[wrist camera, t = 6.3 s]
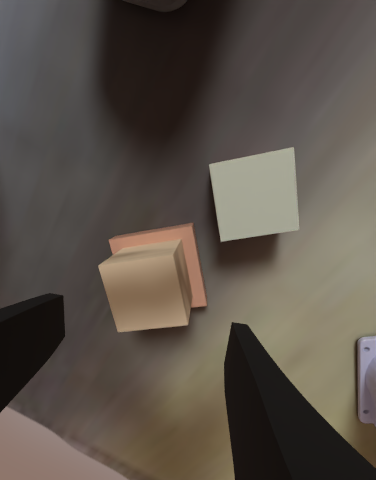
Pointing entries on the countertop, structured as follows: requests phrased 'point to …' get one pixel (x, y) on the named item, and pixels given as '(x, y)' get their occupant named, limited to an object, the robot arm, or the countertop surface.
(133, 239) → the plinth
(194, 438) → the countertop surface
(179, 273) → the maple block
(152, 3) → the bluetooth speaker
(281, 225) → the sage block
